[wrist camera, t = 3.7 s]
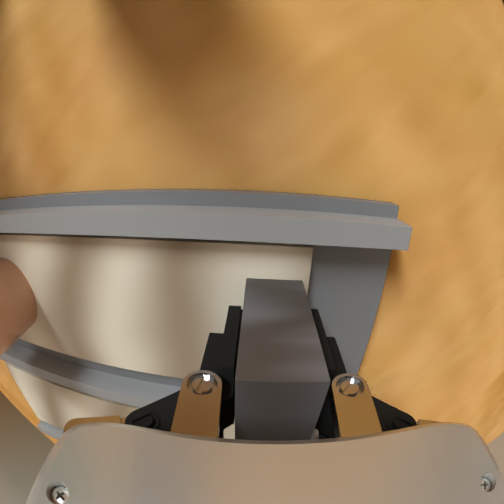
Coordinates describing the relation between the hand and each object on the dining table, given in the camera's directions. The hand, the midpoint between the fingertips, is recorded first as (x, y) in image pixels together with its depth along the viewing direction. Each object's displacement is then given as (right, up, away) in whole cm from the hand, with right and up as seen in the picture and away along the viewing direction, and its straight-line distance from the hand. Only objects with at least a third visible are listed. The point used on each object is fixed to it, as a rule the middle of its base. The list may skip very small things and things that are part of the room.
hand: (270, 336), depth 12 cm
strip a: (-10, +1, +1) cm, 11 cm away
